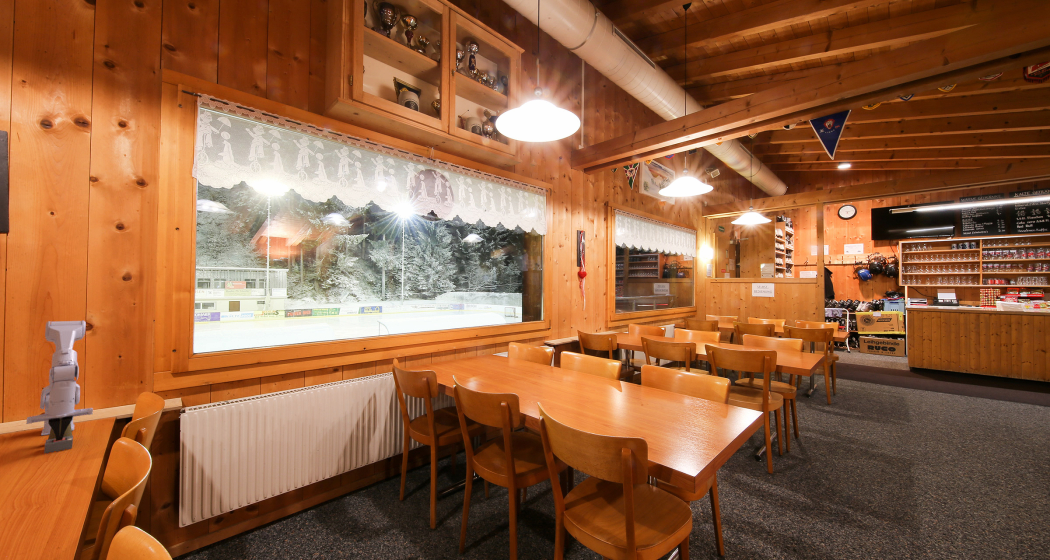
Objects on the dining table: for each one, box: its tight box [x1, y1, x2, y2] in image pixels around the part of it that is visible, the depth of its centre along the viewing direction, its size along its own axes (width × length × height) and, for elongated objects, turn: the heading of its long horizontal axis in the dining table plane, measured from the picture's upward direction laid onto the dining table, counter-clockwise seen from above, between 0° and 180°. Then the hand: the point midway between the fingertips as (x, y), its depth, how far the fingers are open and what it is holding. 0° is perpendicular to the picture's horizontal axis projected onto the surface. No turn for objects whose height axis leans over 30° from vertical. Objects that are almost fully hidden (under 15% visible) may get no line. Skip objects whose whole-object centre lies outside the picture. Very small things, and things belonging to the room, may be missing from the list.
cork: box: [47, 415, 73, 440], centre depth 137 cm, size 6×6×11 cm
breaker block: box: [43, 435, 74, 455], centre depth 131 cm, size 6×6×3 cm
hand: (59, 439), depth 131 cm, fingers closed, pressing on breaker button
